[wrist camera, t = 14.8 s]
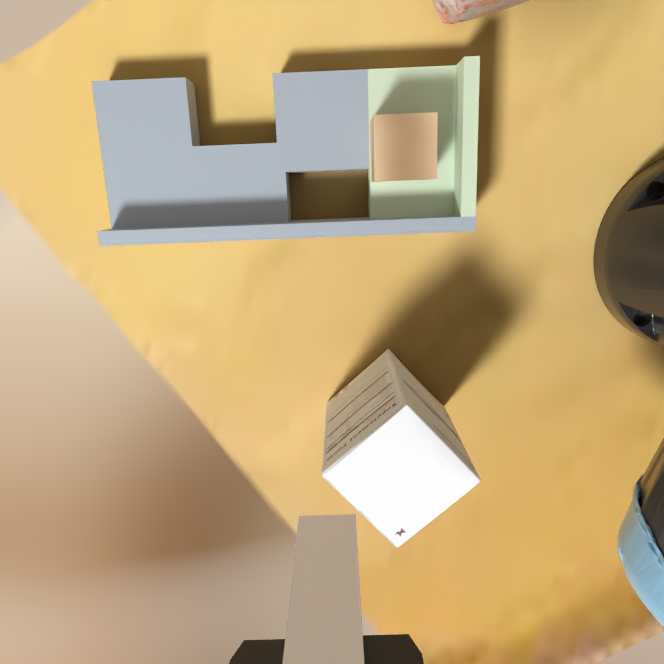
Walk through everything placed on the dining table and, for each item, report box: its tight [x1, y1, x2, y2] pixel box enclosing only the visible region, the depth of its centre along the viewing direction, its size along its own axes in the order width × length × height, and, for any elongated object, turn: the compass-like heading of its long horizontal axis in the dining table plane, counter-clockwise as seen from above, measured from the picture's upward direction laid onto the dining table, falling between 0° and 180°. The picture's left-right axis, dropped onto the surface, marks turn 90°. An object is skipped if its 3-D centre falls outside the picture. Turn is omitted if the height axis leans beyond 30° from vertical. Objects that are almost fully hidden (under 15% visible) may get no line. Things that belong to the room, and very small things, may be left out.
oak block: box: [370, 112, 438, 182], centre depth 37 cm, size 4×4×4 cm
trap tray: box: [91, 56, 480, 246], centre depth 39 cm, size 26×11×5 cm, turn 92°
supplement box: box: [322, 349, 480, 547], centre depth 40 cm, size 7×7×13 cm
